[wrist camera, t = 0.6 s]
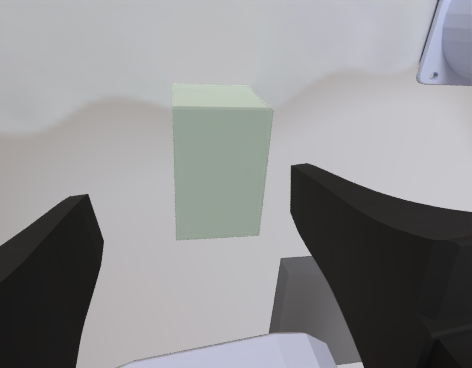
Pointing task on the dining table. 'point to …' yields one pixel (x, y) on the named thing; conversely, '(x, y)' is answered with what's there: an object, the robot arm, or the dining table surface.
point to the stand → (311, 308)
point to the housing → (219, 159)
